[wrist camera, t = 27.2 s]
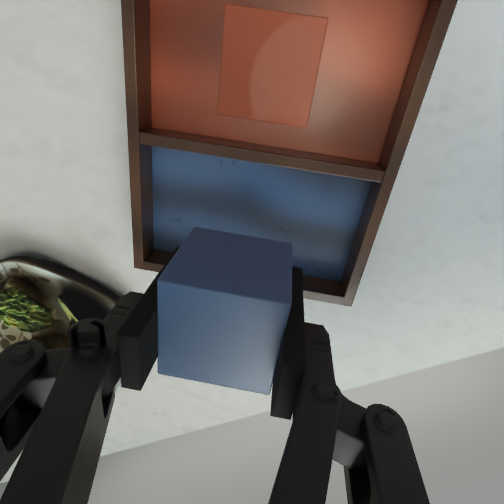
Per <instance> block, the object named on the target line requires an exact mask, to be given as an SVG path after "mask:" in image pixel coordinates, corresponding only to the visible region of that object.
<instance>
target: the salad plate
mask: <svg viewBox="0 0 504 504" xmlns="http://www.w3.org/2000/svg"><path fill="white" fill-rule="evenodd" d="M119 299H120V297H119V296H117V295H116V294H115V293H114V292H112V291H111V290H109V289H107V288H106V287H104V286H102V285H100V284H98V283H97V282H95V281H93V280H91V279H89V278H87V277H85V276H83V275H81V274H79V273H78V272H76V271H74V270H72V269H69V268H67V267H64V266H62V265H59V264H56V263H53V262H49V261H44V260H38V259H34V258H30V257H25V256H16V257H10V258H7V259H3V260H0V353H1V352H2V351H3V350H4V349H5V348H7V347H8V346H10V345H11V344H14V343H16V342H18V341H23V340H27V339H29V340H38V341H40V342H42V343H43V344H44V346H45V349H46V350H47V349H62V348H69V347H70V346H69V341H68V336H67V330H68V328H69V327H70V326H71V325H72V324H74V323H76V322H77V321H80V320H83V319H88V318H97V319H101V320H103V319H104V318H105V317H106V316H107V314H108V313H110V311H111V309H112V308H113V307H114V306H115V304H116V303H117V302H118V300H119ZM120 386H121V378H120V379H119V381H118V383H117V384H116V386H115V392H116V391H117V390H118V389H119V388H120Z"/></svg>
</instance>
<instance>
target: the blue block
mask: <svg viewBox="0 0 504 504" xmlns="http://www.w3.org/2000/svg"><path fill="white" fill-rule="evenodd" d="M291 300H292V244H291V243H286V242H280V241H275V240H269V239H263V238H257V237H252V236H246V235H240V234H234V233H229V232H223V231H217V230H211V229H206V228H200V227H193V229H192V230H191V232H190V233H189V235H188V236H187V238H186V239H185V241H184V242H183V243H182V245H181V246H180V248H179V249H178V251H177V252H176V254H175V255H174V257H173V258H172V259H171V261H170V262H169V264H168V265H167V267H166V268H165V270H164V271H163V273H162V274H161V276H160V277H159V278H158V280H157V307H158V373H159V374H163V375H168V376H173V377H178V378H184V379H189V380H194V381H199V382H204V383H210V384H215V385H220V386H225V387H230V388H236V389H241V390H246V391H251V392H256V393H262V394H267V395H269V394H270V391H271V387H272V383H273V377H274V372H275V368H276V364H277V360H278V356H279V351H280V347H281V343H282V339H283V335H284V330H285V328H286V325H287V321H288V317H289V313H290V308H291Z"/></svg>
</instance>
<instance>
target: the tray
mask: <svg viewBox="0 0 504 504" xmlns="http://www.w3.org/2000/svg"><path fill="white" fill-rule="evenodd" d="M457 1H458V0H121V8H122V28H123V48H124V68H125V88H126V109H127V129H128V149H129V169H130V189H131V209H132V230H133V250H134V268H138V269H144V270H150V271H155V272H160V270H161V269H162V268H163V266H164V265H165V263H166V262H167V260H168V259H169V258H170V256H171V255H172V253H173V252H174V250H175V249H176V248H177V246H178V247H180V246H181V245H182V243H183V242H184V241H185V239H186V238H187V236H188V235H189V233H190V232H191V230H192V229H193V227H200V228H206V229H211V230H217V231H223V232H229V233H234V234H240V235H246V236H252V237H257V238H263V239H269V240H275V241H280V242H286V243H291V244H292V266H293V267H298V268H302V275H303V298H306V299H312V300H317V301H323V302H329V303H334V304H340V305H345V306H352V303H353V300H354V297H355V294H356V291H357V288H358V286H359V283H360V280H361V277H362V274H363V271H364V268H365V265H366V263H367V260H368V257H369V254H370V251H371V248H372V245H373V242H374V240H375V237H376V234H377V231H378V228H379V225H380V222H381V219H382V216H383V214H384V211H385V208H386V205H387V202H388V199H389V196H390V193H391V191H392V188H393V185H394V182H395V179H396V176H397V173H398V170H399V168H400V165H401V162H402V159H403V156H404V153H405V150H406V147H407V145H408V142H409V139H410V136H411V133H412V130H413V127H414V124H415V121H416V119H417V116H418V113H419V110H420V107H421V104H422V101H423V98H424V96H425V93H426V90H427V87H428V84H429V81H430V78H431V75H432V73H433V70H434V67H435V64H436V61H437V58H438V55H439V52H440V50H441V47H442V44H443V41H444V38H445V35H446V32H447V29H448V26H449V24H450V21H451V18H452V15H453V12H454V9H455V6H456V3H457ZM225 4H234V5H241V6H248V7H256V8H263V9H270V10H277V11H284V12H291V13H298V14H306V15H313V16H320V17H327V18H328V24H327V29H326V34H325V39H324V44H323V49H322V54H321V59H320V64H319V69H318V74H317V79H316V84H315V89H314V94H313V99H312V104H311V109H310V114H309V119H308V124H307V128H301V127H294V126H288V125H281V124H275V123H268V122H262V121H256V120H249V119H243V118H236V117H230V116H223V115H218V114H217V108H218V95H219V81H220V68H221V54H222V40H223V27H224V13H225Z"/></svg>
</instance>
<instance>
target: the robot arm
mask: <svg viewBox="0 0 504 504" xmlns="http://www.w3.org/2000/svg"><path fill="white" fill-rule="evenodd" d="M179 248H180V247H178V246H177V248H176V249H175V250H174V252H173V253H172V255H171V256H170V258H169V259H168V260H167V262H166V263H165V265H164V266H163V268H162V269H161V270H160V272H159V273H158V275H157V276H156V278H155V279H154V280H153V282H152V283H151V285H150V286H149V288H148V289H147V291H146V292H145V293H144V294H142V293H136V292H129V293H127V294H126V295H124V296H122V297H121V298H120V299H119V300H118V302H117V303H116V304H115V306H114V307H113V308H112V309H111V311H110V313H108V314H107V316H106V317H105V318H104V319H103V320H101V319H97V318H88V319H83V320H80V321H77V322H76V323H74V324H72V325H71V326H70V327H69V328H68V330H67V336H68V341H69V346H70V347H69V348H62V349H47V350H46V349H45V346H44V344H43V343H42V342H40V341H38V340H29V339H27V340H23V341H18V342H16V343H14V344H11V345H10V346H8V347H7V348H5V349H4V350H3V351H2V352H1V353H0V481H1V480H2V478H3V477H4V475H5V474H6V473H7V471H8V470H9V468H10V467H11V466H12V464H13V463H14V461H15V460H16V459H17V457H18V456H19V454H20V453H21V452H22V450H23V452H22V454H21V456H20V458H19V460H18V462H17V465H16V467H15V469H14V471H13V473H12V476H11V478H10V480H9V482H8V484H7V486H6V489H5V491H4V493H3V495H2V497H1V500H0V504H87V503H88V499H89V495H90V492H91V488H92V484H93V480H94V476H95V472H96V468H97V464H98V460H99V457H100V453H101V449H102V445H103V441H104V437H105V433H106V429H107V426H108V422H109V418H110V414H111V410H112V406H113V402H114V398H115V386H116V384H117V383H118V381H119V379H120V378H121V387H123V388H129V389H134V390H139V391H141V389H142V387H143V385H144V383H145V381H146V379H147V377H148V375H149V373H150V371H151V369H152V367H153V365H154V363H155V361H156V359H157V357H158V307H157V280H158V278H159V277H160V276H161V274H162V273H163V271H164V270H165V268H166V267H167V265H168V264H169V262H170V261H171V259H172V258H173V257H174V255H175V254H176V252H177V251H178V249H179ZM292 413H293V423H292V426H291V429H290V433H289V436H288V439H287V442H286V446H285V450H284V454H283V456H282V460H281V463H280V466H279V469H278V473H277V476H276V479H275V483H274V486H273V489H272V493H271V496H270V500H269V503H268V504H325V501H326V495H327V489H328V483H329V477H330V470H331V464H332V459H333V460H335V461H337V462H339V463H340V464H342V465H344V473H345V482H346V491H347V500H348V504H430V503H429V499H428V496H427V493H426V490H425V486H424V483H423V480H422V476H421V473H420V470H419V467H418V463H417V460H416V457H415V454H414V450H413V447H412V444H411V441H410V437H409V434H408V431H407V427H406V425H405V423H404V421H403V419H402V418H401V417H400V415H399V414H398V413H397V412H396V411H394V410H393V409H391V408H390V407H388V406H385V405H382V404H373V405H370V406H368V408H367V409H366V408H364V407H362V406H360V405H358V404H355V403H353V402H352V401H350V400H348V399H347V398H346V397H344V396H343V395H342V394H341V392H340V390H339V388H338V386H337V385H336V383H335V377H334V370H333V362H332V354H331V347H330V339H329V334H328V332H327V331H326V329H325V328H324V326H323V325H317V324H312V323H306V322H304V303H303V275H302V268H298V267H293V266H292V300H291V308H290V313H289V317H288V321H287V325H286V328H285V330H284V335H283V339H282V343H281V347H280V351H279V356H278V360H277V364H276V368H275V372H274V377H273V388H272V401H271V416H274V417H279V418H284V419H291V416H292Z"/></svg>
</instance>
